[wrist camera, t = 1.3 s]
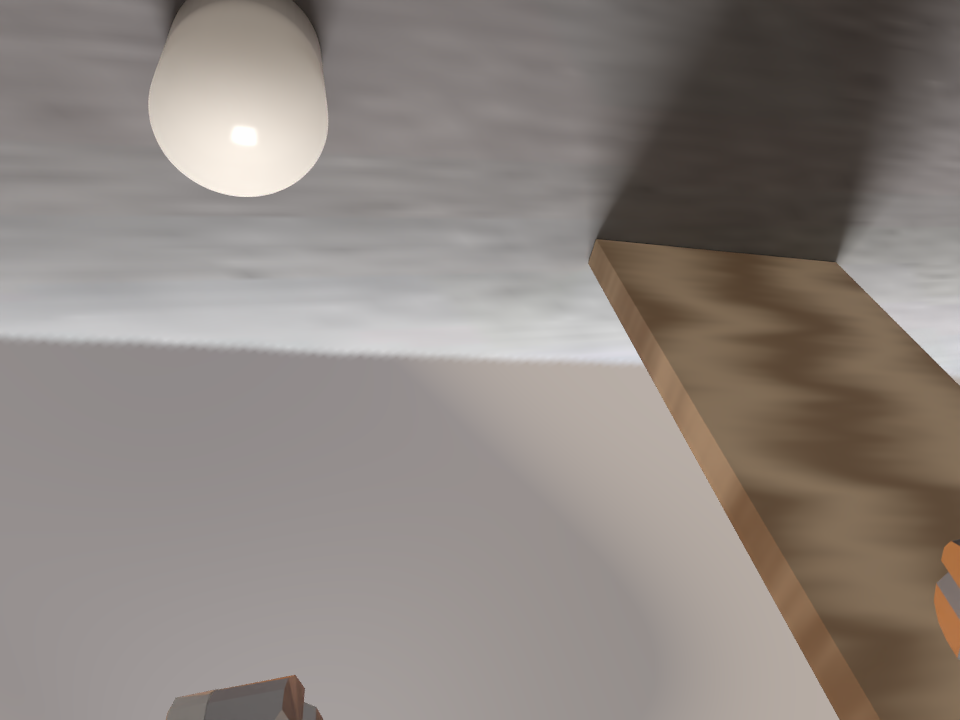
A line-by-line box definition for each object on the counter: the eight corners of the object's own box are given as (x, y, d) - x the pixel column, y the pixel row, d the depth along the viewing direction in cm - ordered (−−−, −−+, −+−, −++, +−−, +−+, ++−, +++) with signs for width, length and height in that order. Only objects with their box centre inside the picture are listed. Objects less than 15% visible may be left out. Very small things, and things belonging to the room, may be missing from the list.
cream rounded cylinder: (135, 47, 27) (109, 107, 23) (245, -56, 26) (238, -12, 22) (247, 155, 30) (242, 226, 26) (351, 67, 29) (363, 127, 25)
